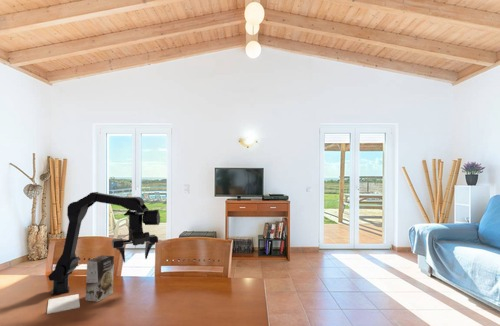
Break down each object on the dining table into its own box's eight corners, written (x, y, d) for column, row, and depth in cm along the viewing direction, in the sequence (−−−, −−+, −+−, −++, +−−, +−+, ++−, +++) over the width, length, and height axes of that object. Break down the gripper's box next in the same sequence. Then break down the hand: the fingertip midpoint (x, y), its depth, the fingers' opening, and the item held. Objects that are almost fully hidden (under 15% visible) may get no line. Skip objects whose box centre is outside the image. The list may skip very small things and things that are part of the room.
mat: (48, 300, 118) (48, 299, 118) (78, 294, 124) (78, 294, 124) (46, 314, 106) (46, 313, 106) (79, 307, 112) (79, 306, 112)
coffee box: (98, 302, 117) (99, 261, 118) (84, 300, 118) (86, 260, 119) (113, 293, 126) (114, 255, 126) (100, 291, 127) (101, 254, 128)
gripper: (115, 230, 118) (115, 269, 118) (161, 225, 128) (161, 261, 128) (111, 226, 127) (111, 262, 127) (154, 222, 138) (154, 255, 137)
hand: (135, 260), depth 129 cm, fingers open, 9 cm apart
